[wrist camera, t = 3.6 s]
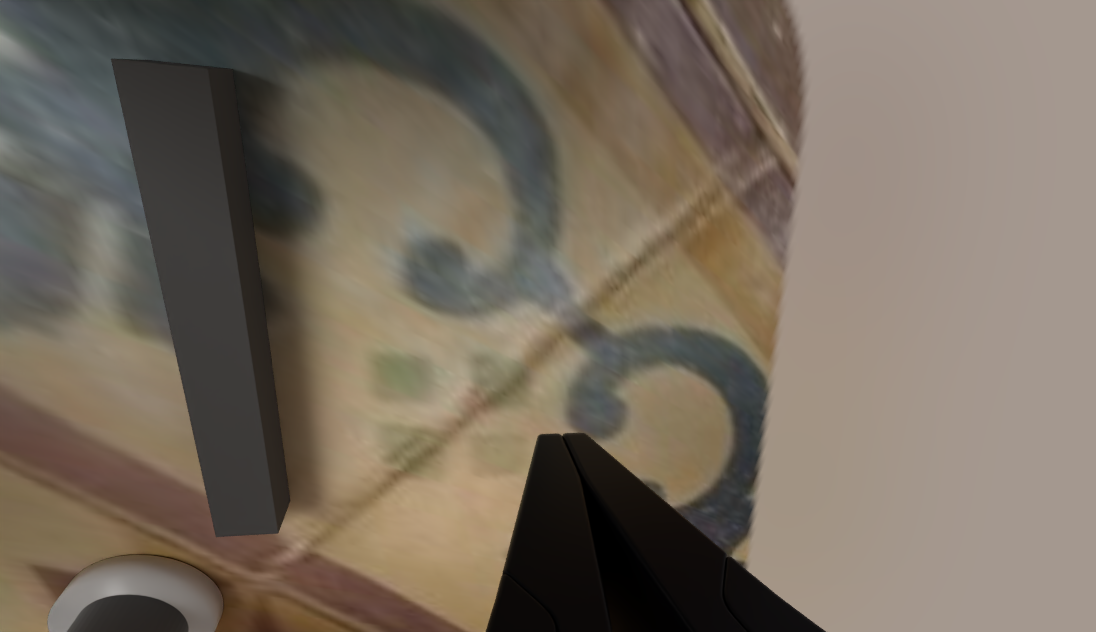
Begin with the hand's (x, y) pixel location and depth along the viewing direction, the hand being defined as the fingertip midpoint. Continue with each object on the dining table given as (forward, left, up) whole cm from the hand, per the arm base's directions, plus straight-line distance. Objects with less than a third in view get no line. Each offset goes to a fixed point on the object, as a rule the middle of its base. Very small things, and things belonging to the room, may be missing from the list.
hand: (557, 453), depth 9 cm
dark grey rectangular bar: (0, +7, -6) cm, 10 cm away
